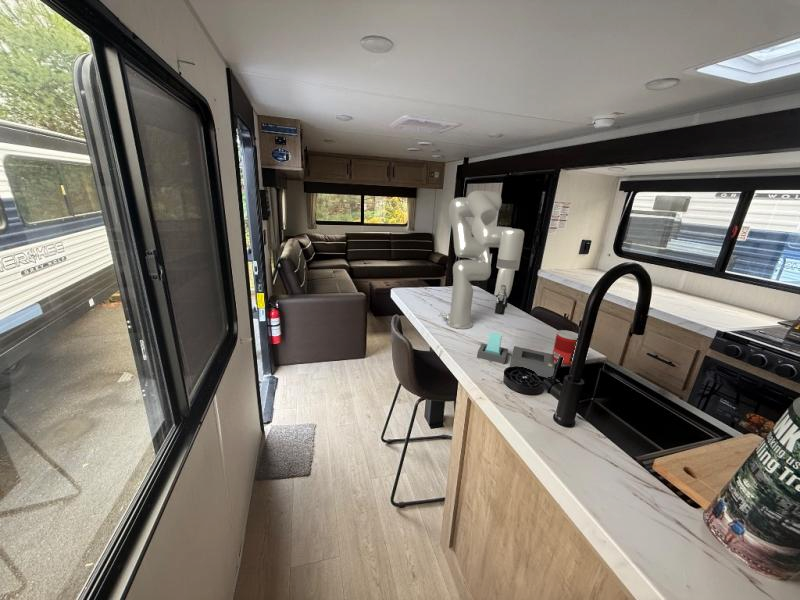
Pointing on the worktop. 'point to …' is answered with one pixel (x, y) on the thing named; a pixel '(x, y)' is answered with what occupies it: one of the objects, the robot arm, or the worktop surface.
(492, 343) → the plug
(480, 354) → the holster
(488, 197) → the robot arm
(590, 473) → the worktop surface
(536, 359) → the port
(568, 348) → the canned food
